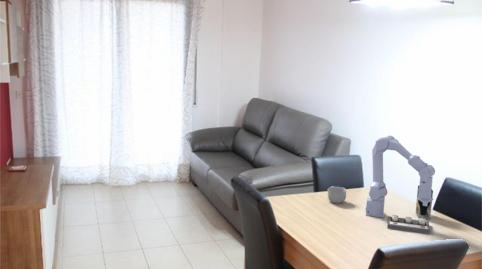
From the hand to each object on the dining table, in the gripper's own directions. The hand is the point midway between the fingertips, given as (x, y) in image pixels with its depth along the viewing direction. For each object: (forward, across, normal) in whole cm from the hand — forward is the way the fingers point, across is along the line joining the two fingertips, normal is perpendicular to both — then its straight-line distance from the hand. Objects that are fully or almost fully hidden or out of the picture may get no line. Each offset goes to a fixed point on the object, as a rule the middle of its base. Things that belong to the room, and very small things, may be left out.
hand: (422, 215), depth 220 cm
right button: (+5, 0, 0) cm, 5 cm away
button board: (+7, -1, +7) cm, 10 cm away
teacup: (+7, +25, +47) cm, 53 cm away
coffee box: (+7, +18, -1) cm, 19 cm away
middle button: (+5, 0, +7) cm, 8 cm away
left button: (+5, 0, +13) cm, 14 cm away
